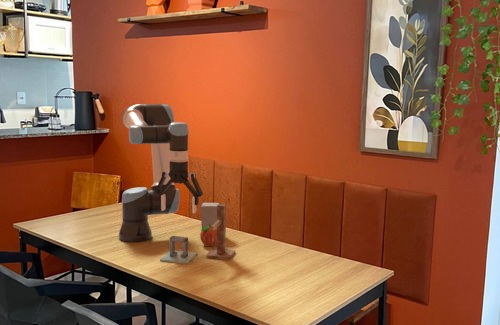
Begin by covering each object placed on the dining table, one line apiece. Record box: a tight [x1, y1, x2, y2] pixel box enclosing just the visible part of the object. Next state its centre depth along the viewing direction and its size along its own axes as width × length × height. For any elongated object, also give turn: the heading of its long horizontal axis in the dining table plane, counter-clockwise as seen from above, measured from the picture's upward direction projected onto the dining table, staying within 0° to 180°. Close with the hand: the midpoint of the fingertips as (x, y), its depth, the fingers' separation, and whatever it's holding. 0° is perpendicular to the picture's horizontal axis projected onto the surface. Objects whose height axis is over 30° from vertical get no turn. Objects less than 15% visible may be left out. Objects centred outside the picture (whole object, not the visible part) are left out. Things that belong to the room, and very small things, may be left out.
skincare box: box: [200, 202, 220, 229], centre depth 243 cm, size 8×7×16 cm
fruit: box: [199, 224, 217, 247], centre depth 229 cm, size 9×10×10 cm
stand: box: [205, 203, 236, 261], centre depth 211 cm, size 10×18×22 cm, turn 167°
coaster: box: [159, 250, 198, 265], centre depth 212 cm, size 12×12×1 cm
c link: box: [169, 235, 189, 258], centre depth 211 cm, size 7×3×8 cm, turn 77°
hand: (178, 211), depth 209 cm, fingers open, 13 cm apart
